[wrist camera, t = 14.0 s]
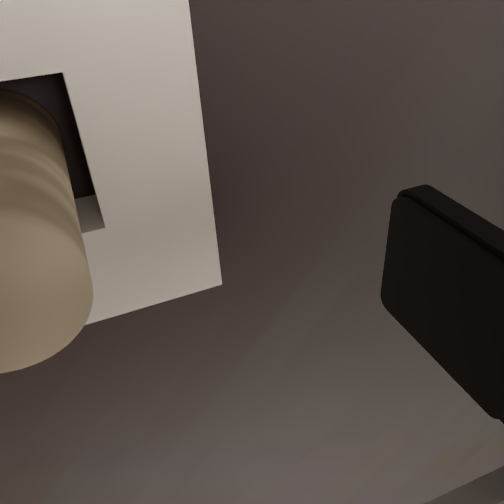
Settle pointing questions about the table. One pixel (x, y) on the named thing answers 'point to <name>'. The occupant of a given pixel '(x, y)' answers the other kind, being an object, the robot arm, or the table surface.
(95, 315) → the socket
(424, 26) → the table surface
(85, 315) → the dowel
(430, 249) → the robot arm
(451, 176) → the table surface
